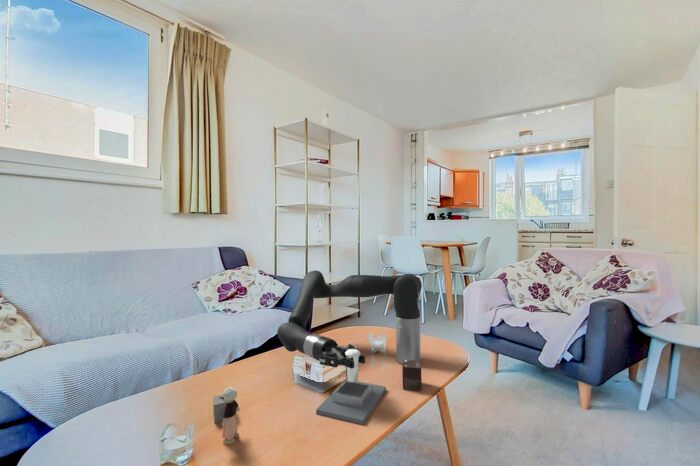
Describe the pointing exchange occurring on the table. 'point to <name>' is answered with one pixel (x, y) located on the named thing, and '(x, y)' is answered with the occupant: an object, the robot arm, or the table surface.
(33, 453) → the table surface
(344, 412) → the dock
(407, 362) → the box
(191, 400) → the table surface
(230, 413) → the grandmother figurine
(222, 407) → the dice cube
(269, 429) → the table surface
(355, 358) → the milkshake
